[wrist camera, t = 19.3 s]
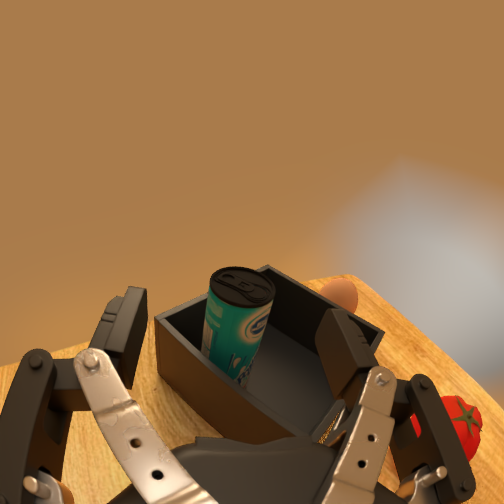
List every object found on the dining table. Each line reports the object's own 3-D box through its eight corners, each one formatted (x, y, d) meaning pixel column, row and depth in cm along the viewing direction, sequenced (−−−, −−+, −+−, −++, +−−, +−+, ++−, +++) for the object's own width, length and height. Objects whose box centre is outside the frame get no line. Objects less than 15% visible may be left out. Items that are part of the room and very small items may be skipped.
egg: (305, 306, 50) (319, 267, 46) (337, 305, 52) (353, 269, 48) (319, 333, 44) (337, 293, 40) (353, 331, 46) (373, 293, 42)
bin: (157, 372, 31) (153, 316, 26) (254, 314, 45) (267, 264, 41) (278, 477, 21) (313, 447, 17) (353, 379, 36) (385, 331, 31)
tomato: (404, 504, 17) (465, 473, 12) (372, 438, 26) (418, 394, 22) (458, 466, 20) (508, 427, 15) (428, 413, 29) (469, 370, 25)
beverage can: (222, 409, 27) (246, 315, 21) (188, 377, 30) (195, 278, 24) (255, 382, 32) (288, 288, 25) (221, 356, 35) (240, 260, 28)
